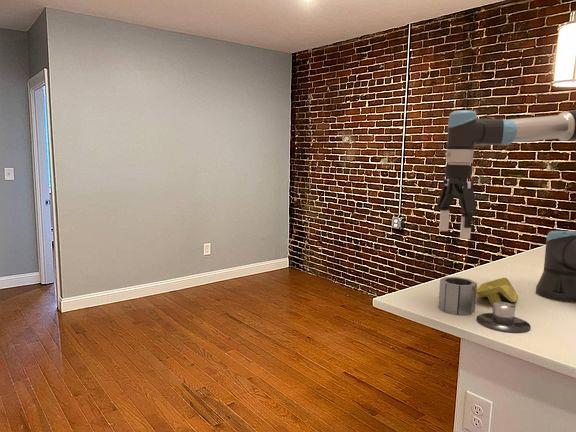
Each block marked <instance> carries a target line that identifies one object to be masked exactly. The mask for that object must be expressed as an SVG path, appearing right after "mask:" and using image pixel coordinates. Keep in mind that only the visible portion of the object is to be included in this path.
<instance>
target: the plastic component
mask: <svg viewBox="0 0 576 432" xmlns="http://www.w3.org/2000/svg"><path fill="white" fill-rule="evenodd" d="M500 294H502V295H503V297H505V298H506V299H507V300H508V301H509V302H511V303H516V302H518V298H519V297H518V294H517V292H516V290H515V288H514V287H513V285H512V283H511V282H510V281H509V279H508V277H502V278H500V277H499V278H498V279H494V280H489V281H487V282H484V283H481V284H480V285H478V286H477V290H476V296H479V298H481V299H483V298H487V299H488V301H489V304H490V305H491V306H493V305H494V302H502V299H501V296H500Z"/></svg>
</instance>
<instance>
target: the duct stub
mask: <svg viewBox="0 0 576 432" xmlns="http://www.w3.org/2000/svg"><path fill="white" fill-rule="evenodd" d="M492 306H493V308H492V312H488V313H487V312H486V313H485V312H484V313H480V314H478V315H477V316H476V317H475V318H476V321H477V323H478V324H479V325H481V326H483V327H484V328H487V329H490V330H493V331H498V332H501V333H507V334H509V333H511V334H522V333H528V332H530V331H531V328H532V327H531V324H530V323H529V322H528V321H526V320H524V319H522V318H520V317H516V316H515V315H516V305H515V304H513V303H510V302H505V301H501V302H494V305H492Z"/></svg>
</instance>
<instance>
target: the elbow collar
mask: <svg viewBox="0 0 576 432" xmlns="http://www.w3.org/2000/svg"><path fill="white" fill-rule="evenodd" d="M477 285H478V283H477V282H475V281H474V280H472V279H469V278H463V277H457V276H449V277H448V276H445V277H443V278H440V280H439V292H438V293H439V294H438V306H437V307H438V308H437V309H440V310H441V311H442V312H444V313H447V314H452V315H455V316H470V315H473V314H474V313H475V311H476V302H477V294H476V290H477V288H478V286H477Z"/></svg>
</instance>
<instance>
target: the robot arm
mask: <svg viewBox="0 0 576 432" xmlns="http://www.w3.org/2000/svg"><path fill="white" fill-rule="evenodd" d="M447 122H448V123H447V124H448V125H447V138H446V139H447V141H446V152H445V163H447V164H446V165H445V167H444V168H445V169H444V176H445V177H446V178H448V179H446V178H444V179H443V181H442V182H443V183H442V187H441V190H440V194H439V197H438V199H437V200H438V201H437V204H436V208H438V209H439V227H438V231H439V232H449V226H450V211H451V208H450V207H451V205H452V203H453V201H454V199H455V197H456V198H457V199H458V202H459V203H458V204H459V205H460V206H459V207H460V208H461V212H462V214H461V219H460V230H459V231H460V232H459V239H460V240H471V233H472V221H473V219H472V218H473V217H474V216H477V215H478V210H477V204H476V199H475V197H476V196H475V193H474V192H475V191H474V181H468V178H469V179H470V178H472V177H473V165H472V164H473V163H474V150H475V146H479V147H481V146H509V145H512V143H520V142H522V143H523V142H533V141H545V140H546V141H547V140H557V139H558V141H561V142H567V141H568V142H570V141H572V142H573V141H575V142H576V109H574V110H569V111H568V110H567V111H561V112H560V113H558V115H557V114H556V115H546V116H545V115H544V116H533V117H532V116H531V117H524V118H522V117H521V118H511V119H510V118H509V119H505V118H502V119H501V118H499V119H498V118H478V116H477V111H475V110H467V109H466V110H465V109H464V110H454V111H452V112H450V113H449V116H448V121H447ZM543 264H544V265H543V272H542V274H541V276H540V279H539V280H538V283H537V284H536V286H535V293H536V295H538V296H540V297H542V298H546V299H549V300H553V301H559V302H563V303H565V302H566V303H576V230H551V231H549V232H548V233H547V235H546V241H545V253H544V263H543Z"/></svg>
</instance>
